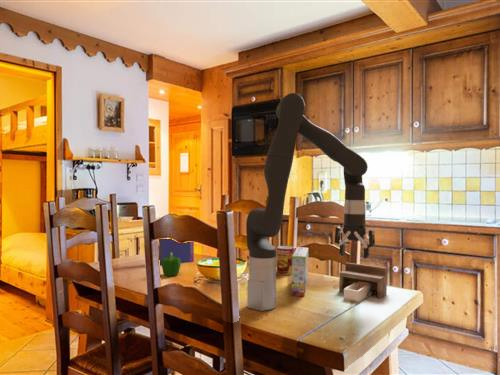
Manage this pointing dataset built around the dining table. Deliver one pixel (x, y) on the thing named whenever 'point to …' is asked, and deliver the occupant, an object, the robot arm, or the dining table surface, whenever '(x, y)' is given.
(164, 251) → the cereal box
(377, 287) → the cubby
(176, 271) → the bell pepper
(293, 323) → the dining table surface
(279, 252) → the canned food
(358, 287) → the tray shell
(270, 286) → the robot arm
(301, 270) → the snack box
